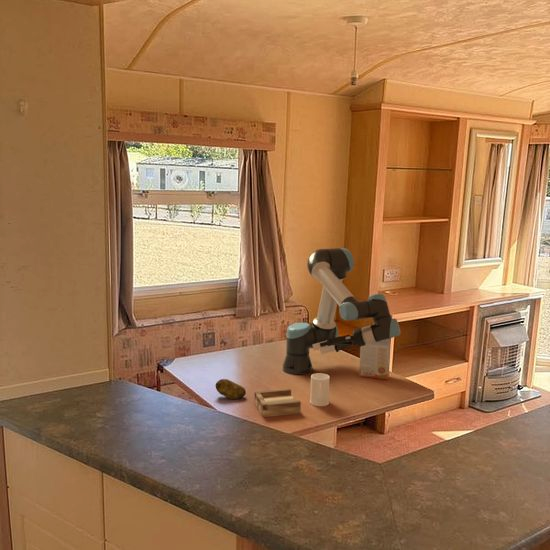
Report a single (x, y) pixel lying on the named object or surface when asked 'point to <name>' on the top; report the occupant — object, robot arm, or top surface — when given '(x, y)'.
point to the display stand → (276, 403)
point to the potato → (230, 389)
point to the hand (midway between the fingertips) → (317, 349)
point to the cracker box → (375, 360)
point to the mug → (319, 389)
